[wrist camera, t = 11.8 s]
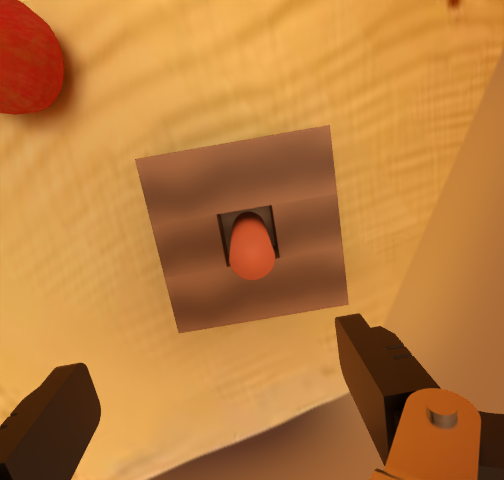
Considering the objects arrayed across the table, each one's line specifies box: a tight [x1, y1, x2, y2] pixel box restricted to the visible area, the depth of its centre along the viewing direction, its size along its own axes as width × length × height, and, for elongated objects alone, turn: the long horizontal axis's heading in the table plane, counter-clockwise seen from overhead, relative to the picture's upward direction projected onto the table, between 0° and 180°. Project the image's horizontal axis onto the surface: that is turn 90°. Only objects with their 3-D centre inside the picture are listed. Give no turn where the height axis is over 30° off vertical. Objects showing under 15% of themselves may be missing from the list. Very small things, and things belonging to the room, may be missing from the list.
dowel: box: [229, 211, 275, 280], centre depth 29 cm, size 3×3×10 cm
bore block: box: [135, 125, 349, 333], centre depth 32 cm, size 16×16×5 cm
